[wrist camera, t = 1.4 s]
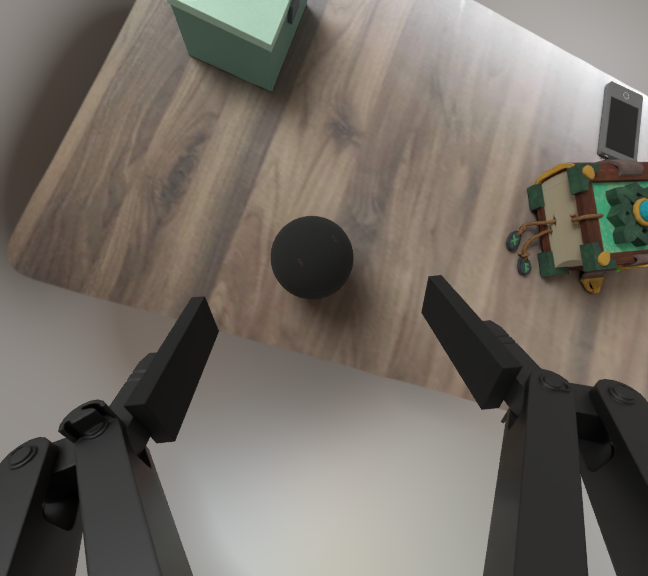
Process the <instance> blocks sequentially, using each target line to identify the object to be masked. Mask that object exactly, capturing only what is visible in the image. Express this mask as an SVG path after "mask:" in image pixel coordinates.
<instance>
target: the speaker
mask: <svg viewBox="0 0 648 576" xmlns="http://www.w3.org/2000/svg"><path fill="white" fill-rule="evenodd" d="M271 265H272V269H273V272H274V275H275V277H276V279H277V280H278V282H279V283H280V284H281V285H282V286H283V287H284V288H285V289H286V290H287V291H288V292H290V293H291V294H293V295H295V296H298V297H301V298H305V299H319V298H324V297H327V296H329V295H331V294H333V293H335V292H336V291H337V290H339V289H340V288H341V287H342V286H343V285H344V283H345V282H346V281H347V279H348V277H349V275H350V273H351V270H352V266H353V250H352V246H351V243H350V240H349V238H348V237H347V235H346V233H345V232H344V231H343V230H342V229H341V228H340V227H339V226H338V225H337V224H335V223H334V222H332V221H330V220H328V219H326V218H323V217H318V216H306V217H301V218H298V219H295V220H293V221H291V222H290V223H288V224H287V225H286V226H284V227H283V228H282V229H281V231H280V232H279V233H278V235H277V236H276V238H275V240H274V242H273V245H272V249H271Z"/></svg>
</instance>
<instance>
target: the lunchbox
mask: <svg viewBox="0 0 648 576" xmlns="http://www.w3.org/2000/svg"><path fill="white" fill-rule="evenodd" d="M167 2H168V4H171V6H172V9H173V12H174V14H175V17H176V20H177V23H178V26H179V28H180V31H181V34H182V37H183V40H184V42H185V45H186V48H187V51H188V53H189V55H191V56H193V57H195V58H197V59H200V60H202V61H204V62H206V63H208V64H211V65H213V66H215V67H217V68H219V69H222V70H224V71H226V72H228V73H231V74H233V75H235V76H237V77H239V78H242V79H244V80H246V81H248V82H250V83H253V84H255V85H257V86H259V87H262V88H264V89H266V90H268V91H270V92H272V91H273V88H274V85H275V83H276V80H277V78H278V75H279V73H280V70H281V68H282V65H283V63H284V60H285V58H286V55H287V53H288V50H289V48H290V45H291V43H292V40H293V37H294V35H295V32H296V30H297V27H298V25H299V22H300V20H301V17H302V15H303V12H304V10H305V7H306V5H307V0H167Z"/></svg>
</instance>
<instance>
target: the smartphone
mask: <svg viewBox="0 0 648 576" xmlns="http://www.w3.org/2000/svg"><path fill="white" fill-rule="evenodd" d="M642 102H643V97H642V95H640V94H638V93H635V92H633V91H631V90H629V89H627V88H625V87H623V86H621V85H618V84H616V83H614V82H612V81H611V82H610V83H608V84H607V85H606V86H605V95H604V103H603V112H602V120H601V129H600V137H599V146H598V154H599V155H601V156H604V157H606V158H608V159H611V160H634V161H637V153H638V143H639V133H640V122H641V112H642Z"/></svg>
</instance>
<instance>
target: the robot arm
mask: <svg viewBox="0 0 648 576" xmlns="http://www.w3.org/2000/svg"><path fill="white" fill-rule="evenodd" d="M421 313H422V314H423V316H424V318H425V319H426V321H427V322H428V324H429V326H430V327H431V329H432V330H433V332H434V334H435V335H436V337H437V339H438V340H439V342H440V343H441V345H442V347H443V348H444V350H445V351H446V353H447V355H448V356H449V358H450V360H451V361H452V363H453V364H454V366H455V368H456V369H457V371H458V372H459V374H460V376H461V377H462V379H463V381H464V382H465V384H466V385H467V387H468V389H469V390H470V392H471V394H472V395H473V397H474V398H475V400H476V402H477V403H478V405H479V406H480V408H481V409H482V410H483V409H494V408H499V407H500V405H501V403H502V402H503V400H504V401H505V402H506V403H507V405H508V406H509V409H508V411H507V413H506V414H505V416H504V417H503V419H502V421H501V422H502V423H504V422H505V421H506V422H505V429H504V436H503V443H502V450H501V456H500V463H499V470H498V477H497V484H496V491H495V498H494V504H493V512H492V518H491V525H490V532H489V539H488V546H487V552H486V559H485V566H484V573H483V576H588V567H587V553H586V540H585V526H584V513H583V502H582V501H583V500H582V487H581V477H582V479H583V482H584V485H585V488H586V491H587V494H588V496H589V499H590V502H591V505H592V508H593V510H594V513H595V516H596V519H597V522H598V525H599V527H600V530H601V533H602V536H603V539H604V541H605V544H606V547H607V550H608V553H609V555H610V558H611V561H612V564H613V567H614V570H615V572H616V575H617V576H648V402H647V401H646V399H645V398H644V397H643V396H642V395H641V394H640V393H638V392H637V391H636V390H634V389H633V388H631V387H629V386H627V385H625V384H623V383H620V382H617V381H614V380H608V379H603V380H599V381H598V382H597V383H596V384H595V385H594V387H591V386H585V385H579V384H573V383H569V382H568V381H567V380H566V379H564V378H563V377H562V376H560V375H558V374H556V373H554V372H552V371H549V370H545V369H541V368H540V367H539V366H538V365H537V364H536V363H535V362H534V361H533V360H532V359H531V358H530V356H529V355H528V354H527V353H526V352H525V351H524V350H523V349H522V348H521V347H520V346H519V345H518V344H517V343H515V341H514V340H513V339H512V338H511V337H509V335H508V334H507V333H506V332H505V330H504V329H503V328H502V327H500V326H499V325H497V324H495V323H494V322H492V321H491V320H488V321H482V320H481V319H480V318H479V317H478V315H477V314H476V313H475V312H474V311H473V310H472V309H471V308H470V307H469V305H468V304H467V303H466V302H465V301H464V300H463V299H462V298H461V297H460V295H459V294H458V293H457V292H456V291H455V290H454V289H453V288H452V287H451V285H450V284H449V283H448V282H447V281H446V280H445V279H444V278H443V276H442V275H438V276H429V277H428V282H427V287H426V292H425V297H424V302H423V307H422V312H421ZM218 332H219V330H218V328H217V325H216V323H215V320H214V318H213V315H212V313H211V310H210V308H209V305H208V303H207V300H206V298H205V296H204V297H193V298H191V299H190V301H189V302H188V304H187V306H186V307H185V309H184V310H183V312H182V314H181V315H180V317H179V318H178V320H177V322H176V323H175V325H174V327H173V328H172V329H171V331H170V333H169V334H168V336H167V337H166V339H165V341H164V342H163V344H162V345H161V347H160V349H159V350H158V352H157V353H149V354H148V355H147V356H146V357H145V358H144V359H142V360H141V361H140V362H139V364H138V365H137V366H136V368H135V369H134V371H133V374H131V375H130V377H129V378H128V380H127V382H126V383H125V384H124V386H123V387H122V388H121V390H120V391H119V393H118V394H117V396H116V397H115V399H114V400H113V402H112V403H111V405H110V406H107V404H106V403H105V402H104V401H102V400H93V401H89V402H87V403H84V404H82V405H80V406H79V407H77V408H76V409H74V410H73V411H72V412H70V413H69V414H68V415H67V416H66V417H65V418H64V420H63V421H62V423H61V424H60V426H59V430H58V432H60V433H61V434H62V435H63V436H65V437H66V438H64V439H61V440H58V441H56V442H53V443H52V442H51V441H49V440H48V439H46V438H45V437H38V438H35V439H31V440H29V441H27V442H25V443H23V444H22V445H20V446H18V447H17V448H16V449H14V450H13V451H12V452H11V453H9V454H8V455H7V456H6V457H5V459H4V460H3V461H2V462H1V463H0V576H75V574H76V568H77V562H78V556H79V550H80V544H81V539H82V533H83V536H84V545H85V554H86V564H87V573H88V576H193V574H192V571H191V569H190V565H189V563H188V560H187V557H186V554H185V551H184V549H183V546H182V543H181V540H180V537H179V534H178V531H177V528H176V526H175V523H174V520H173V517H172V514H171V511H170V508H169V506H168V502H167V500H166V497H165V495H164V491H163V488H162V485H161V483H160V480H159V477H158V474H157V472H156V468H155V465H154V463H153V460H152V457H151V454H150V451H149V449H148V448H147V446H146V444H147V442H148V440H149V438H150V437H151V438H152V439H153V440H154V441H155V442H156V443H165V442H173V441H175V440H176V438H177V435H178V433H179V430H180V428H181V425H182V423H183V420H184V418H185V415H186V412H187V410H188V408H189V405H190V403H191V400H192V398H193V395H194V392H195V390H196V387H197V385H198V382H199V380H200V378H201V375H202V372H203V370H204V367H205V365H206V362H207V360H208V357H209V355H210V352H211V350H212V347H213V345H214V342H215V340H216V337H217V335H218Z"/></svg>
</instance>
